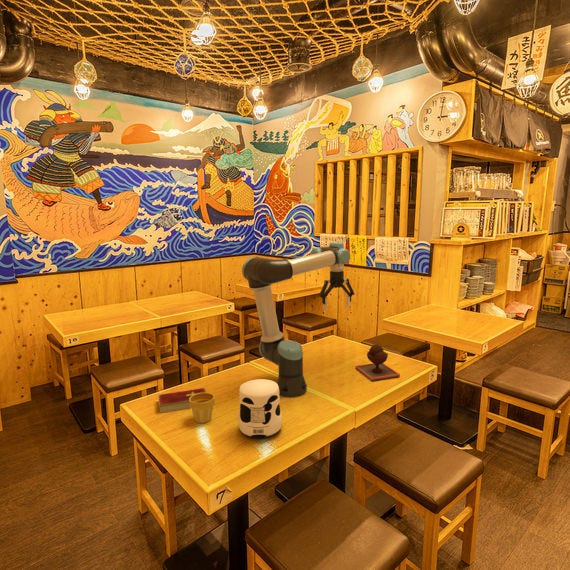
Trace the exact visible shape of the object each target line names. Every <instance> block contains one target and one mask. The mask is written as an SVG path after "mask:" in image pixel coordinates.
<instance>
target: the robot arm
mask: <svg viewBox="0 0 570 570" xmlns="http://www.w3.org/2000/svg"><path fill="white" fill-rule="evenodd" d="M344 246H345V245H344V242H342V241H331V242H330V243H329V246H321V247H320V246H317V247H313V248H312V250H311V251H310V254H308V255H304V256H301V257H300V256H299V257H297V258H296V257H295V258H292V259H288V258H281V259H271V258H264V257H259V256H253V257H249V258H247V259H246V260H244V263H243V265H242V267H241V272H242V276H243V277H244V279H245V280H247V283H248V287H249V289H251V291H253V295H254V300H255V304H256V309H257V313H258V317H259V318H258V319H259V323H260V328H261V332H262V335H261V337H260V343H259V344H258V345H259V346H258V349H259V350H258V351H259V354H261V356H262V358H264V359H265V360H267V361H268V362H271V363H273V364H274V365H276V366H277V367H278V377H277V379H276V383H277V384H278V386H279V396H281V397H285V398H296V397H301V396H303V395H305V394H306V393H307V391H308V385H307V383H306V380H305V377H304V358H303V357H304V352H303V346H302V344H301V343H299V342H297V341H295V340H289V339H288V340H287V339H286V340H285V335H284V333H283V332H281V331H280V328H279V323H278V316H277V313H276V312H277V311H276V306H275V302H274V297H273V292H272V285H273V284H276V283H280V282H284V281H288V280H291V279H292V278H293V277H294V276H297V275H302V274H304V273H309V272H312V271H315V270H320V269H324V268H326V267H329V280H327V279H325V280H324V282H323V285H322V288H321V290H320V293H319V294H318V297H319V298H321V301H322V302H321V303H322V305H323V310H324V311H328V298H327V296H328V295H329V294H330V293H331V291H332V290H333V289H337V288H341V289H342V290H343V291H344V293H346V297H345V298H346V299H345V300H346V303H345V304H346V308H348V309H350V308H351V304H350V303H351V302H352V296H354V295H355V294H356V293H355V291H354V289H353V287H352V286H351V283H350V279H349V278H345V277H344V276H345V272H344V270H345V266H344V265H345V264H348V263H349V262H350V260H351V252H350V251H349V250H348V249H347V248H345V247H344ZM344 283H345V285H346V286H345V285H344ZM328 285H329V286H328ZM346 287H347V288H346Z"/></svg>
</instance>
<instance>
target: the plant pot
mask: <svg viewBox="0 0 570 570" xmlns="http://www.w3.org/2000/svg"><path fill="white" fill-rule="evenodd" d="M215 398H216V397H215V394H213V393H211V392H207V391H206V392H203V393H197V394H194V395H192V396H191V397H190V398H189V406H190V408H189V409H191V411H192V416H193V419H194V421H195V422H196V423H198V424H205V423H208V422H210V421H211V420H212V416H213V409H214V406H215V404H216V402H215V401H216V400H215Z"/></svg>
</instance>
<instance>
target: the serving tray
mask: <svg viewBox="0 0 570 570" xmlns="http://www.w3.org/2000/svg"><path fill="white" fill-rule="evenodd" d="M374 368H376V365H375V364H374V363H372V362H371V363H365V364H359V365H355V370H356V371H357V372H359V373H360V374H361V375H362V376H364V378H366V379H368V380H369V381H370V382H371V383H373V382H380V381H385V380H386V381H387V380H392V379H397V378H398V379H399V378H400V376H401V375H400V373H399V372H397V370H394V369H393V368H391V367H389V366H388V365H387V364H386V363H385V362H384V363H382V364H379V368H380V369H381V370H382V373H374V372H372V369H374Z"/></svg>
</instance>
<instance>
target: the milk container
mask: <svg viewBox="0 0 570 570" xmlns="http://www.w3.org/2000/svg"><path fill="white" fill-rule="evenodd" d="M238 391H239V392H238V393H239V394H238V395H239V399H238V400H239V412H238V417H237V423H238V427H239V430H240V431H241V433H242V434H243V435H244V436H246V437H247V436H248V437H250V438H256V439H263V438H264V439H265V438H268V437H272V436H273V435H275V434H277V433H278V432H279V431H280V430H281V428H282V424H283V413H282V410H281V405H280V395H279V386H278V384H277V382H276V381H273V380H270V379H263V378H262V379H259V378H258V379H251V380H247V381H246V382H244V383H242V384H241V385H240V386H239V390H238Z"/></svg>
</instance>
